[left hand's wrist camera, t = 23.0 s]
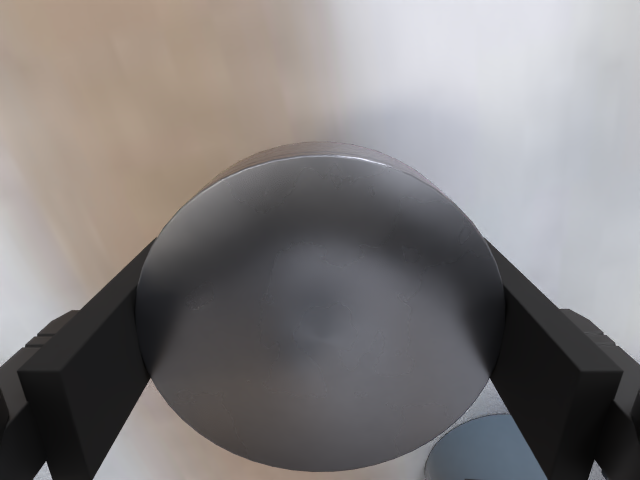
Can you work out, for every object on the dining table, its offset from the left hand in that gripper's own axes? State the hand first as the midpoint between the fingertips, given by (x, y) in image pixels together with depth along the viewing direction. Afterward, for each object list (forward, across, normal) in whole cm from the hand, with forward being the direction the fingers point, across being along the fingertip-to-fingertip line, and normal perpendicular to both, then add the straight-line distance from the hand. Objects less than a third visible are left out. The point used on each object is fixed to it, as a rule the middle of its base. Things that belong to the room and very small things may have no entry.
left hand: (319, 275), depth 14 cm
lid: (-3, 0, 0) cm, 3 cm away
